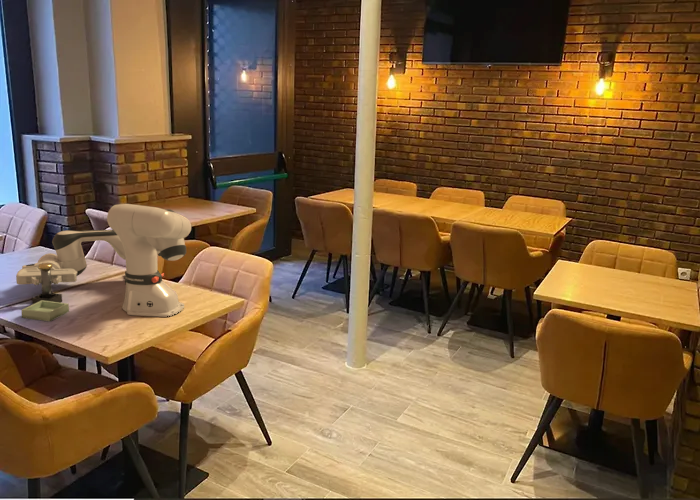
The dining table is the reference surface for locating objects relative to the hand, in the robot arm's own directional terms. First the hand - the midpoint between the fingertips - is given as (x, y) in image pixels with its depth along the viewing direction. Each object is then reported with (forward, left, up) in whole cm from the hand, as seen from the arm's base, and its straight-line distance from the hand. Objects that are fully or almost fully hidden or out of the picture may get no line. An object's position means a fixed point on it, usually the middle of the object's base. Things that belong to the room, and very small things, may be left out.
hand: (46, 282), depth 211 cm
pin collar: (0, -1, -9) cm, 9 cm away
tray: (-6, +9, -9) cm, 14 cm away
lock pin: (0, -1, -9) cm, 9 cm away
